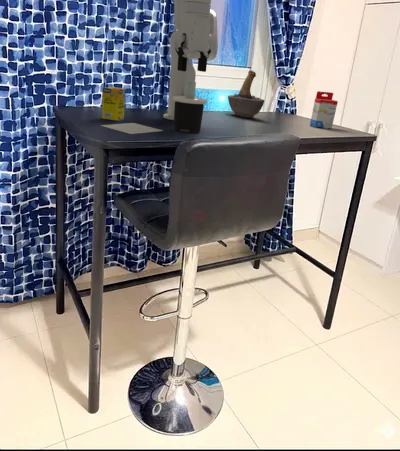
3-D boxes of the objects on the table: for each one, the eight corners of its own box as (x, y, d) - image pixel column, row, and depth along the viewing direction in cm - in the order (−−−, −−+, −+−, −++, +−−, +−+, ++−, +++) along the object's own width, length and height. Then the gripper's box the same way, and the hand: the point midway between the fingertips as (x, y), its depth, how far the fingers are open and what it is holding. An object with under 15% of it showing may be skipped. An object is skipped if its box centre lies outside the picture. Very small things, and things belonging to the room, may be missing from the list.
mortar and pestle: (261, 121, 180) (268, 72, 173) (223, 116, 182) (228, 68, 175) (261, 117, 194) (268, 71, 186) (226, 112, 196) (232, 67, 188)
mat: (133, 124, 141) (133, 122, 141) (163, 132, 133) (163, 130, 133) (100, 127, 130) (100, 125, 130) (130, 135, 123) (130, 133, 123)
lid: (187, 98, 141) (189, 80, 139) (213, 103, 135) (215, 84, 133) (165, 99, 133) (166, 79, 130) (191, 104, 127) (193, 83, 124)
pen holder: (166, 130, 137) (168, 99, 134) (187, 129, 144) (190, 99, 140) (185, 136, 131) (188, 103, 128) (206, 134, 138) (210, 103, 134)
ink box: (315, 127, 179) (322, 92, 173) (309, 125, 183) (316, 91, 178) (332, 128, 181) (339, 93, 176) (326, 126, 186) (333, 92, 180)
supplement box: (118, 123, 141) (119, 89, 136) (101, 120, 142) (101, 87, 137) (124, 120, 146) (125, 88, 142) (108, 118, 147) (109, 86, 143)
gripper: (205, 12, 132) (199, 69, 139) (168, 6, 120) (164, 69, 127) (224, 14, 128) (217, 73, 135) (188, 7, 115) (182, 72, 123)
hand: (191, 71), depth 131 cm, fingers open, 9 cm apart
